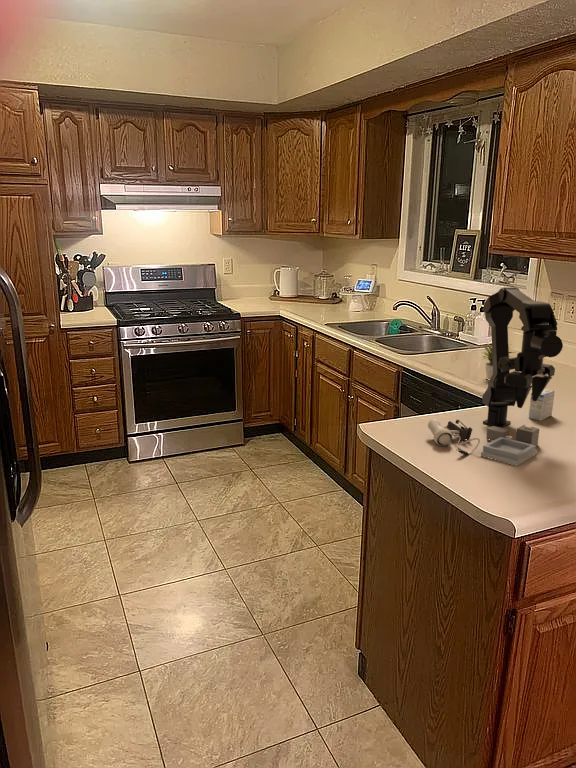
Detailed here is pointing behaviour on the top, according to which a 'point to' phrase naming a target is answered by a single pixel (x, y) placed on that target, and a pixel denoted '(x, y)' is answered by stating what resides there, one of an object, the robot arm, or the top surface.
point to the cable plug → (497, 433)
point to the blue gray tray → (509, 451)
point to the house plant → (490, 364)
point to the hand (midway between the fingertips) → (527, 404)
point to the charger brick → (527, 435)
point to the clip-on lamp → (451, 433)
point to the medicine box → (542, 405)
